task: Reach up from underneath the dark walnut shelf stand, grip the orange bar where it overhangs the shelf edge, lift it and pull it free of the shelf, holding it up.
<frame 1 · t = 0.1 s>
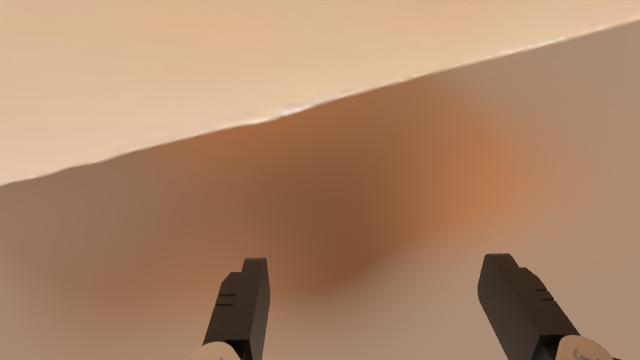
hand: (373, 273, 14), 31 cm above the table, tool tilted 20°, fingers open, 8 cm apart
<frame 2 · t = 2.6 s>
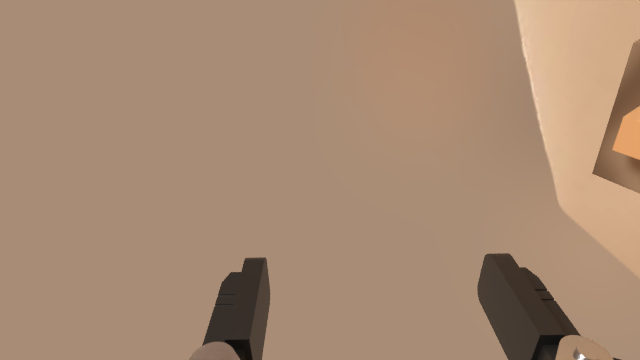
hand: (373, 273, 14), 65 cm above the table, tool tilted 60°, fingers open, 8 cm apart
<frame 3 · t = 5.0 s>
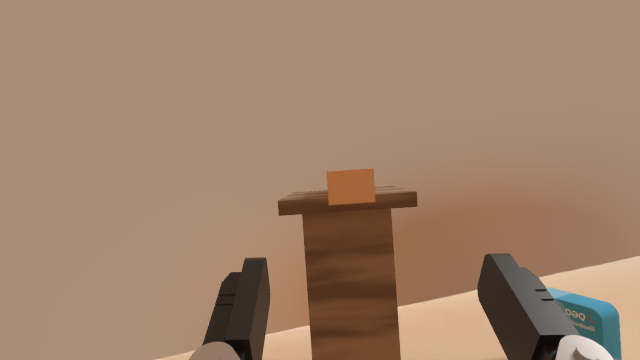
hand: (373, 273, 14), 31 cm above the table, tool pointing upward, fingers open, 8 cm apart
orange bar: (346, 194, 41), point 32 cm above the table, touching shelf stand
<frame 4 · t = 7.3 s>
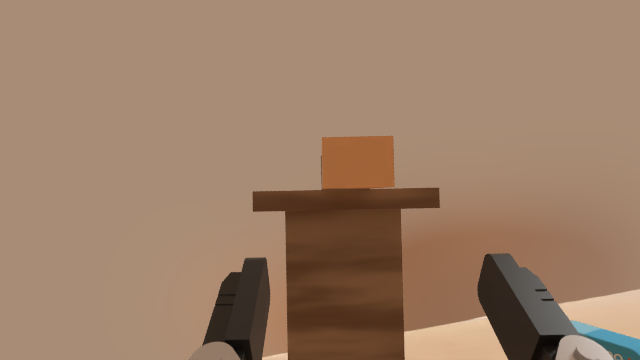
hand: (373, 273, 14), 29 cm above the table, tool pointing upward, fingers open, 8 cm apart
orange bar: (344, 189, 31), point 32 cm above the table, touching shelf stand
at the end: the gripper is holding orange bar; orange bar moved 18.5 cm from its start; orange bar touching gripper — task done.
